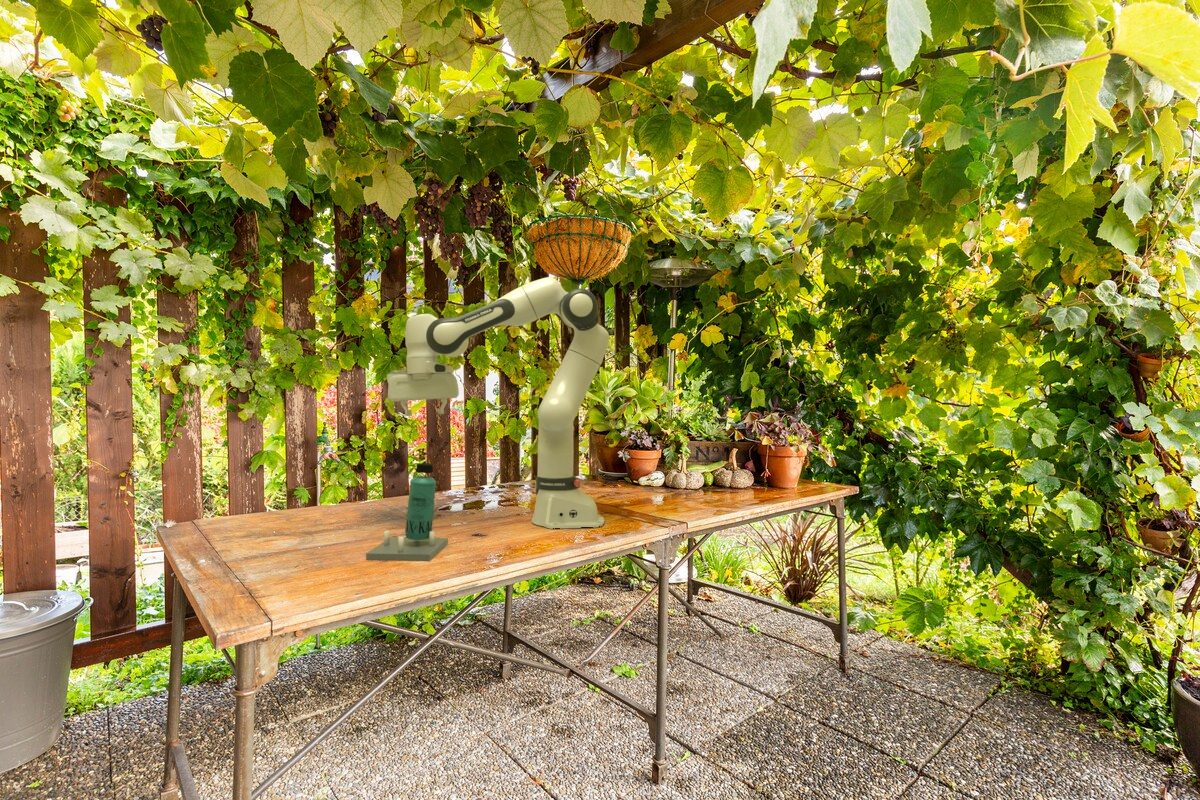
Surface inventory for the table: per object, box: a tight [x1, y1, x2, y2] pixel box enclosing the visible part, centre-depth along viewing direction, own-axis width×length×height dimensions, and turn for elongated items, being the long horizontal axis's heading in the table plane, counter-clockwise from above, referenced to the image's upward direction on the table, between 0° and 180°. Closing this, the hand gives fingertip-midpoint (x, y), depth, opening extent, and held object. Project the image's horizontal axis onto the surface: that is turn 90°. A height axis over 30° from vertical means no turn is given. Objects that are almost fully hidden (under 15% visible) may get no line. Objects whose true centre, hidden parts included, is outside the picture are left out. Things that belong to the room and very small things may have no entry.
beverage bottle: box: [404, 462, 437, 540], centre depth 139 cm, size 6×7×20 cm
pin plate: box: [365, 529, 449, 562], centre depth 137 cm, size 15×15×5 cm
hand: (424, 415), depth 164 cm, fingers open, 8 cm apart
